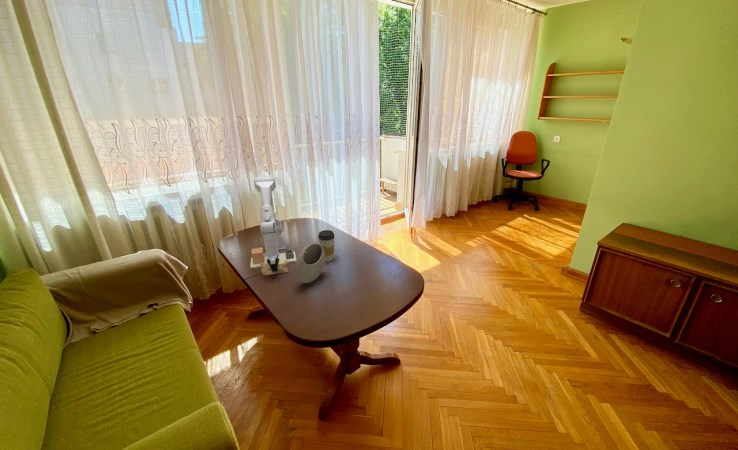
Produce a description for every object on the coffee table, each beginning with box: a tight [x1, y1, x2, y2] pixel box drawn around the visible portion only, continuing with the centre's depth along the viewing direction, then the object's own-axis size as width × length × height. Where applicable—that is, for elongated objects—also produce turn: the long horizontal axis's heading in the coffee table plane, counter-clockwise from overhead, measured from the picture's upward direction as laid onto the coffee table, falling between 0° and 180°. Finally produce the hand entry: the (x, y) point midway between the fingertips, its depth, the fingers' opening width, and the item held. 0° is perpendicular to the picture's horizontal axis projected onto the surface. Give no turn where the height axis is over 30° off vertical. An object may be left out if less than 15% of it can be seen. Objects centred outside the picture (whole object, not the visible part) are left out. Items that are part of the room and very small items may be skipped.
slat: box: [260, 260, 289, 277], centre depth 144 cm, size 12×3×5 cm, turn 108°
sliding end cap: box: [251, 247, 265, 264], centre depth 151 cm, size 5×6×6 cm
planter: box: [294, 242, 326, 284], centre depth 134 cm, size 18×7×19 cm, turn 148°
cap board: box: [250, 248, 297, 269], centre depth 154 cm, size 22×10×4 cm, turn 108°
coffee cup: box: [317, 229, 335, 263], centre depth 154 cm, size 8×8×15 cm
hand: (274, 269), depth 144 cm, fingers closed on slat, 3 cm apart
